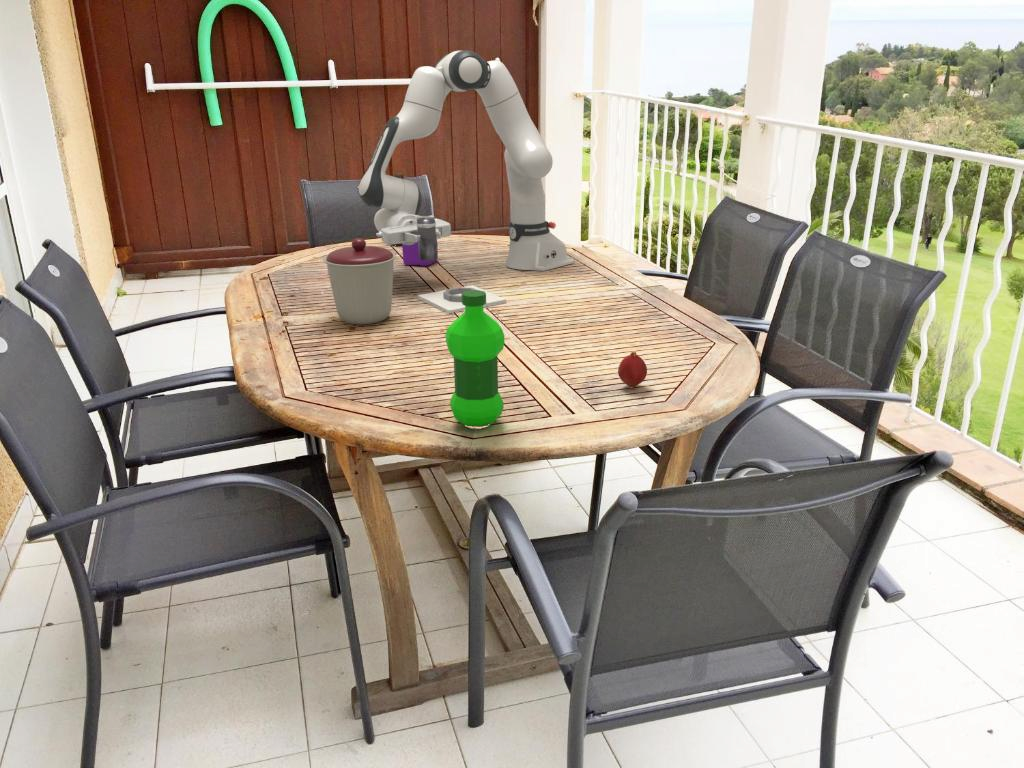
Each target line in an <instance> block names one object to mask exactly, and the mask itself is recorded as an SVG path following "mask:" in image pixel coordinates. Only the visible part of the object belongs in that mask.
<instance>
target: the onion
mask: <svg viewBox="0 0 1024 768" xmlns="http://www.w3.org/2000/svg"><path fill="white" fill-rule="evenodd" d="M617 370H618V371H617V374H618V377H619V378H620V381H621V382H622V383H624V385H626V386H627V387H628V386H629V387H635V388H636V387H638V386H639V385H640V384H641V383H642V382H644V380H645V379H646V378H647V376H648V375H647V374H648V368H647V365H646V363H645V361H644V360H643V358H642V357H641V356H639V355H638V354H637V351H634V350H633V351H631V352H630V354H628V355H627V356H625V357H624V358H623V359H622V360H621V361H620V363H619V365H618V369H617ZM629 387H628V388H629Z"/></svg>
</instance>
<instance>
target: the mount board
mask: <svg viewBox="0 0 1024 768" xmlns="http://www.w3.org/2000/svg"><path fill="white" fill-rule="evenodd" d="M469 290H480V291H484V292H485V293H486V304H485V305H483V308H487V307H486V306H488V307H493V306H497V305H502V304H503V305H504V304H507V298H504V297H501V296H499V295H497V294H494V293H492V292H489V291H487V290H486V289H485V290H484V289H482V288H479V287H477V286H476V285H473V284H472V285H469V286H467V285H466V286H461V287H459V286H457V287H453V288H447V289H445V290H439V291H434V292H429V293H423V294H418V295H417V299H418V300H419V301H422V302H424V303H426V304H427V305H430V306H432V307H434V306H435V307H434V308H436V307H437V308H436V309H438V308H439V309H438V310H440V309H441V310H440V311H442V310H443V311H442V312H444V311H445V312H444V313H446V312H447V313H446V314H448V313H452V314H455V313H454V312H458V313H460V312H459V311H463V312H465V311H464V310H465V305H463V304H462V293H463V292H464V291H469ZM492 305H493V306H492Z"/></svg>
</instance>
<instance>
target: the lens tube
mask: <svg viewBox="0 0 1024 768" xmlns="http://www.w3.org/2000/svg"><path fill="white" fill-rule="evenodd" d="M435 218H436V217H434V218H432V217H422V218H418V219H417V229H418V235H420V239H421V241H420V242H418V246H419V259H420V260H434V259H437V260H438V258H437V248H438V247H436V227H435V226H436V222H435Z"/></svg>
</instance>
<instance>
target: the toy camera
mask: <svg viewBox="0 0 1024 768" xmlns="http://www.w3.org/2000/svg"><path fill="white" fill-rule="evenodd" d="M436 247H437V259H434V260H420V259H419V246H418V242H416V243H415V244H412V245H404V244H402V260H403V264H404V265H407V266H414V265H420V266H419V267H428V266H430V265H432V264H433V263H435V262H436V261H437V260H438V258H439V257H438V256H439V255H438V253H439V252H438V250H439V249H438V239H436Z"/></svg>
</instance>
